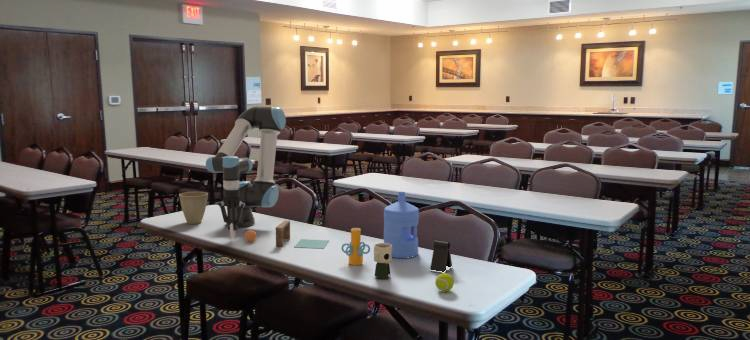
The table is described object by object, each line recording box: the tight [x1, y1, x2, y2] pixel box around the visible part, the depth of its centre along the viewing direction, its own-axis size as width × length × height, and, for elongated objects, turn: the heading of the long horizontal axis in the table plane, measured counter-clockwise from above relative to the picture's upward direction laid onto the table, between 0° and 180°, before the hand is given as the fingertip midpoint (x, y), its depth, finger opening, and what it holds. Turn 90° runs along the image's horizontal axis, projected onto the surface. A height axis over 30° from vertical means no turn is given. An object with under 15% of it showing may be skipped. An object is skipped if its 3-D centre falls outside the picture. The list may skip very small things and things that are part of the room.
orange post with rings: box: [340, 227, 371, 266], centre depth 236 cm, size 12×10×15 cm
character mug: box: [373, 242, 393, 279], centre depth 219 cm, size 11×7×13 cm, turn 146°
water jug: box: [383, 191, 420, 259], centre depth 250 cm, size 16×16×28 cm
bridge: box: [275, 220, 291, 248], centre depth 268 cm, size 3×14×9 cm, turn 174°
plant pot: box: [178, 191, 209, 225], centre depth 306 cm, size 15×15×16 cm
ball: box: [244, 229, 258, 243], centre depth 270 cm, size 6×6×6 cm
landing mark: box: [294, 238, 330, 250], centre depth 267 cm, size 14×14×1 cm
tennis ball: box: [434, 272, 455, 292], centre depth 205 cm, size 7×7×7 cm
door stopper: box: [429, 239, 453, 272], centre depth 230 cm, size 9×6×12 cm, turn 149°
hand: (232, 236), depth 271 cm, fingers closed
